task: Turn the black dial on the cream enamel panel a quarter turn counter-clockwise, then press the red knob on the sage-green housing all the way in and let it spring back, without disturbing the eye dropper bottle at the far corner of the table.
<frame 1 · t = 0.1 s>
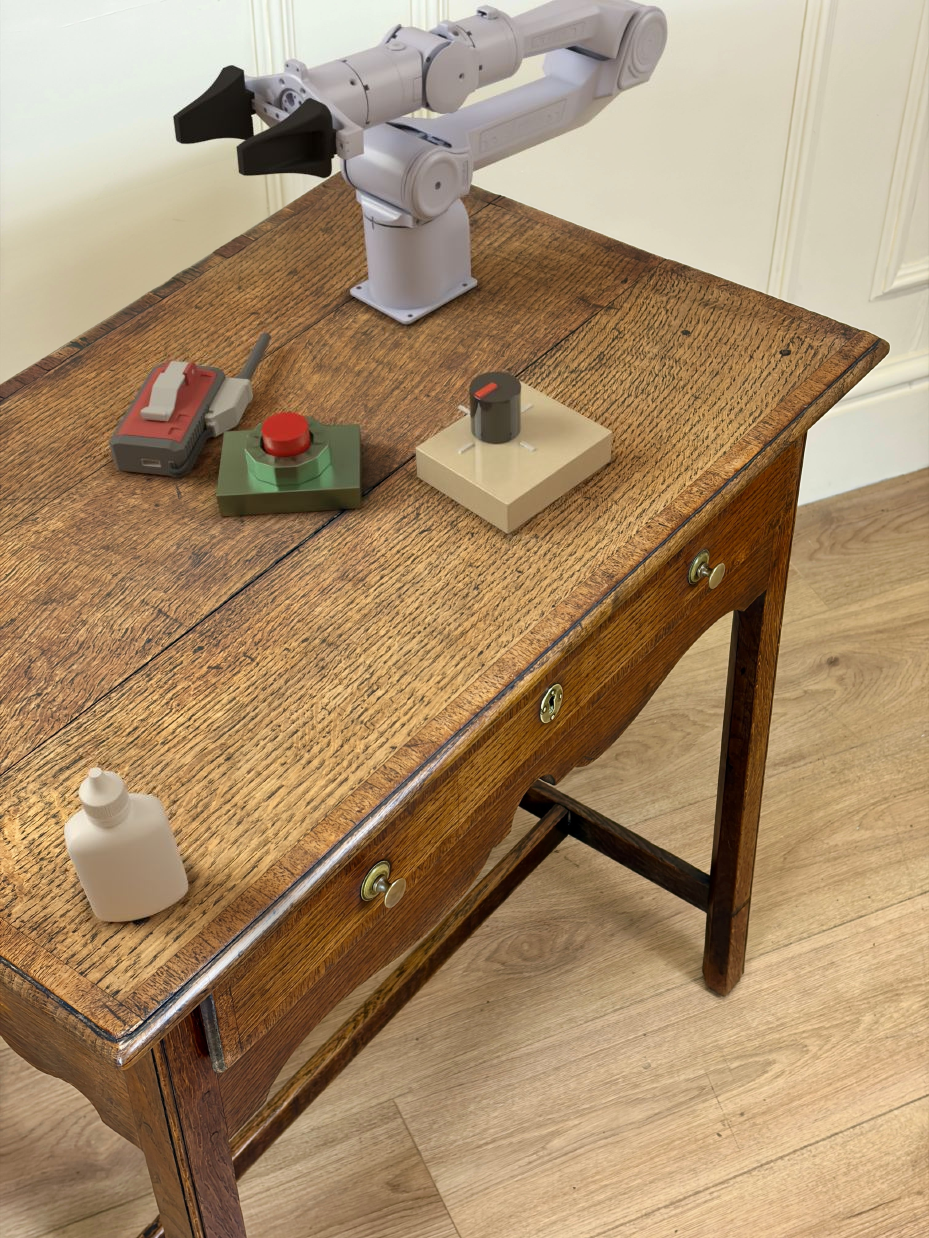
hand: (208, 145, 98), 22 cm above the table, tool horizontal, fingers open, 7 cm apart
dial: (495, 406, 101), point 5 cm above the table, hinge at 0.0°
walkie-talkie: (198, 413, 111), on the table
eye dropper bottle: (142, 896, 78), on the table
button: (286, 435, 101), point 4 cm above the table, slide at 0.1 cm
panel: (514, 469, 104), on the table
housing: (293, 480, 104), on the table
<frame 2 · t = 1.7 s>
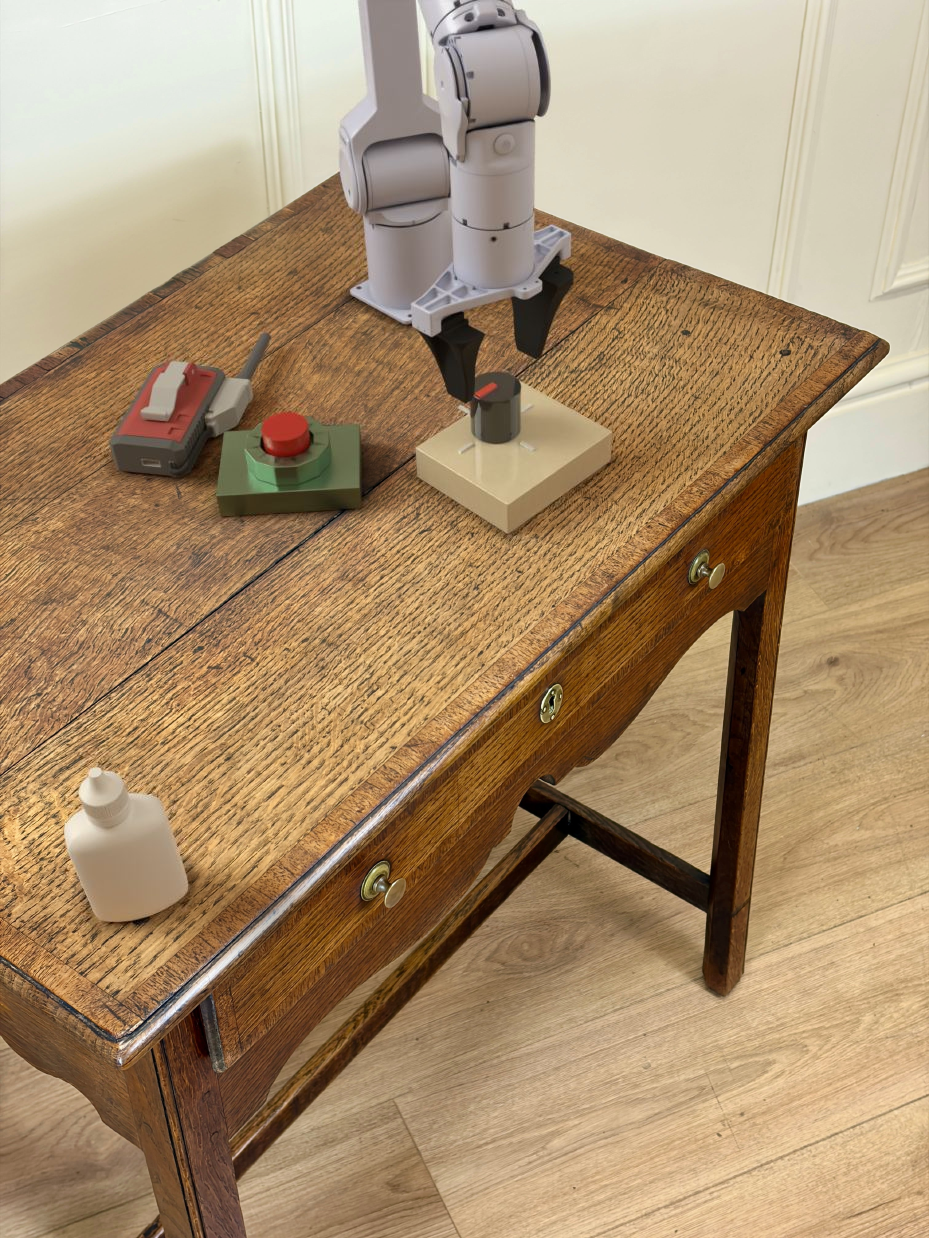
hand: (495, 374, 99), 8 cm above the table, tool pointing down, fingers open, 7 cm apart
nothing on the table moved.
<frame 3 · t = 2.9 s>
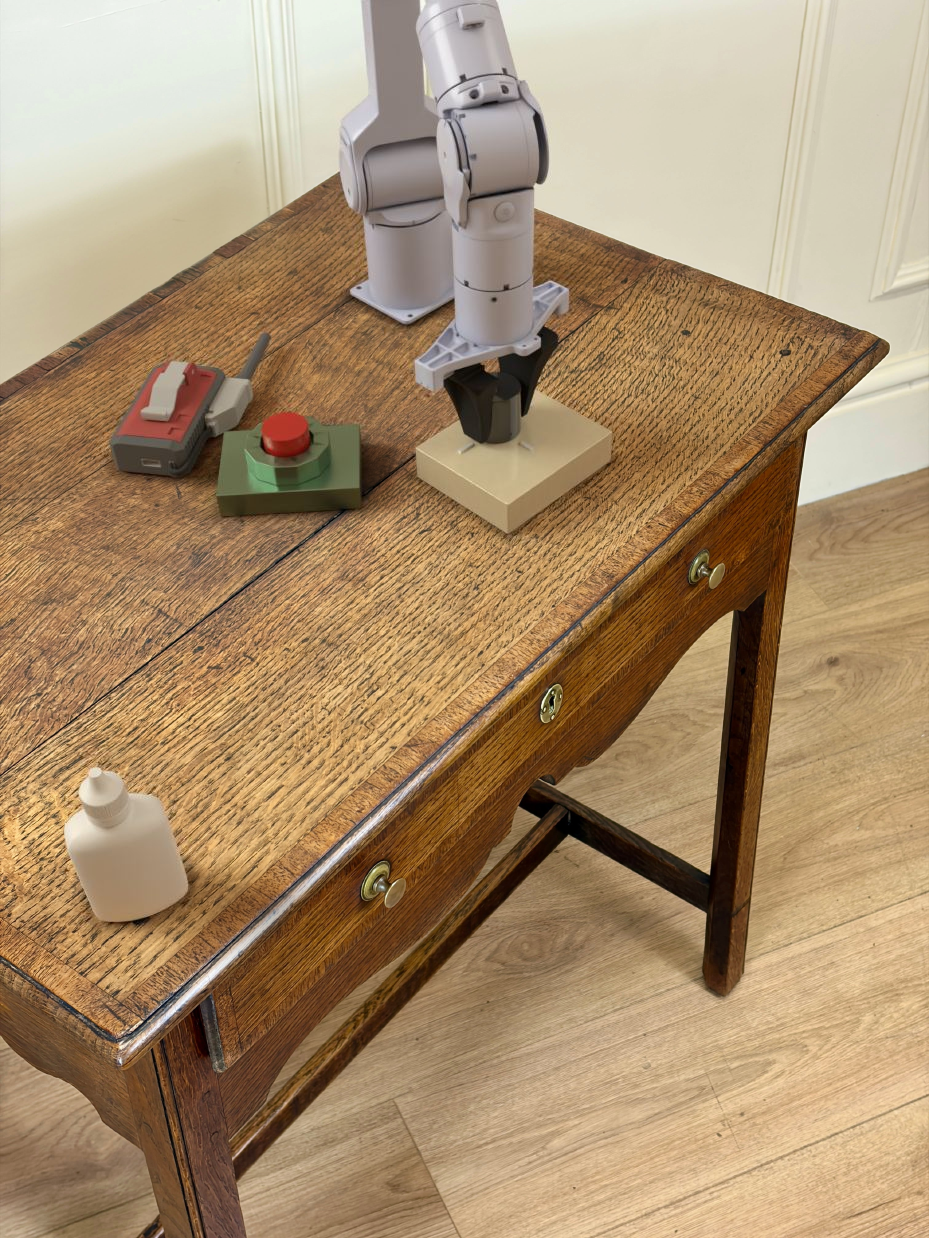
hand: (495, 423, 103), 4 cm above the table, tool pointing down, fingers closed on dial, 4 cm apart
dial: (495, 406, 101), point 5 cm above the table, hinge at 0.1°, touching gripper
everything else where it was.
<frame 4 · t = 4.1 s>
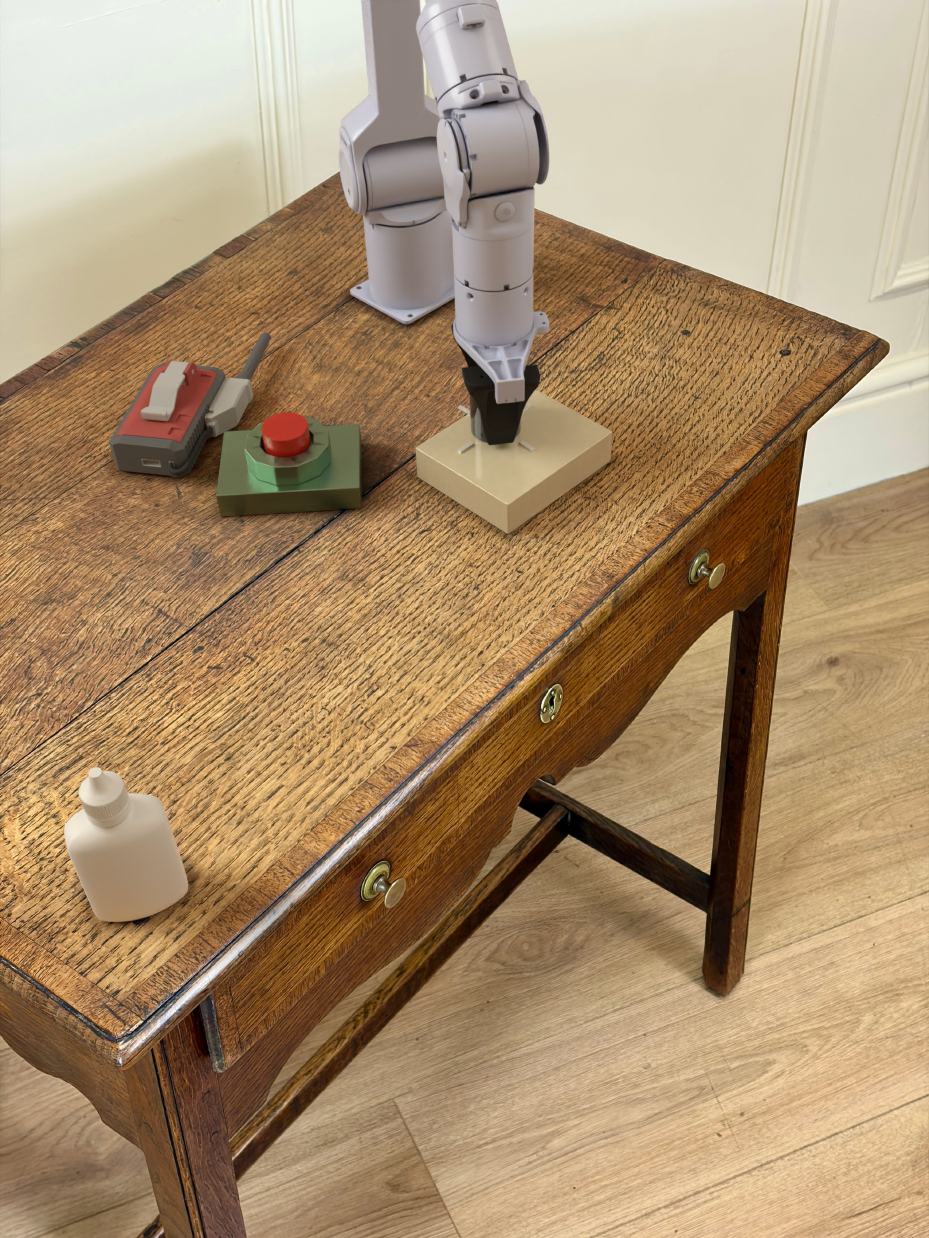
hand: (495, 423, 103), 4 cm above the table, tool pointing down, fingers closed on dial, 4 cm apart
dial: (495, 406, 101), point 5 cm above the table, hinge at 50.9°, touching gripper
everything else where it was.
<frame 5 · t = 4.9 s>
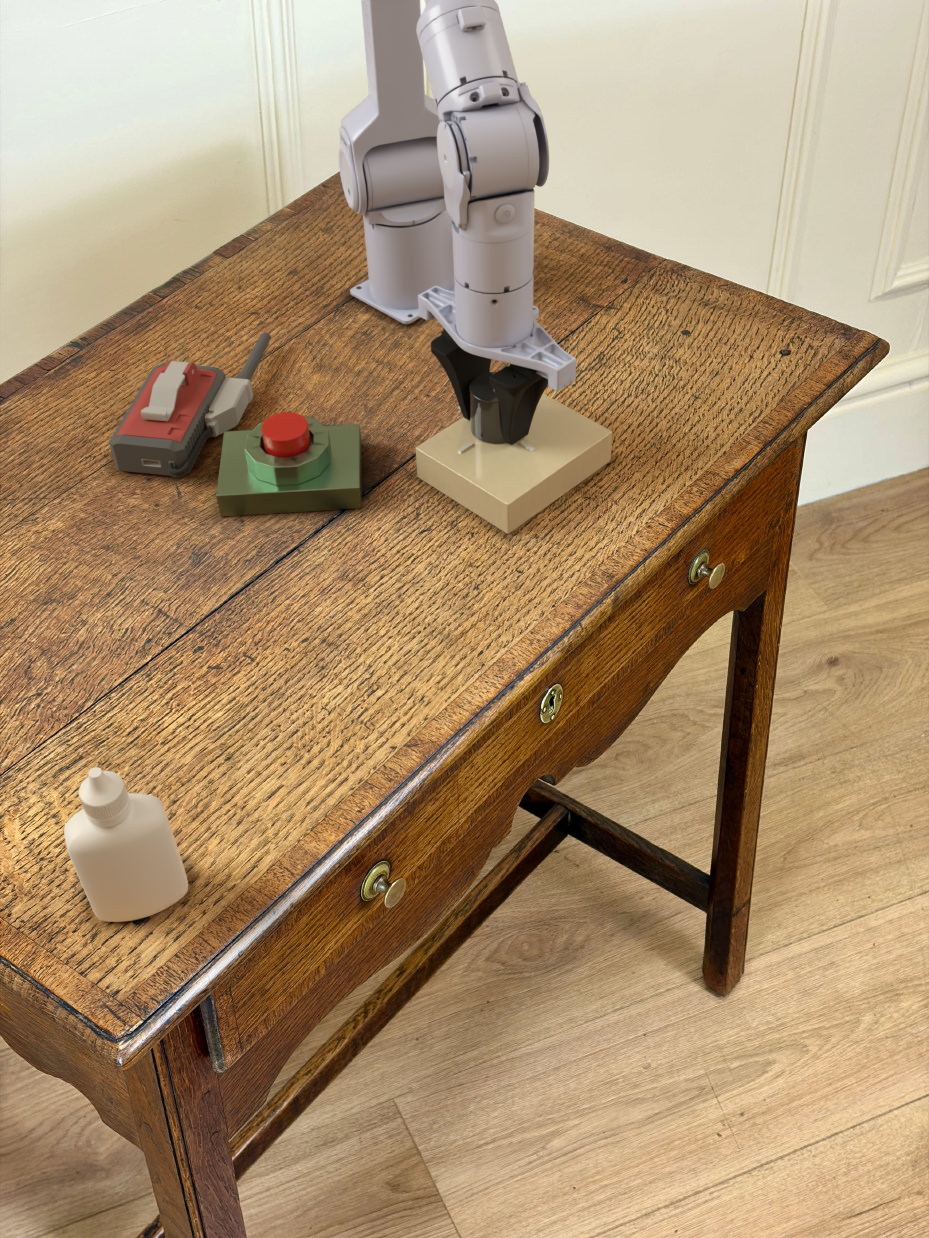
hand: (495, 425, 103), 3 cm above the table, tool pointing down, fingers closed on dial, 4 cm apart
dial: (495, 406, 101), point 5 cm above the table, hinge at 89.7°, touching gripper
everything else where it was.
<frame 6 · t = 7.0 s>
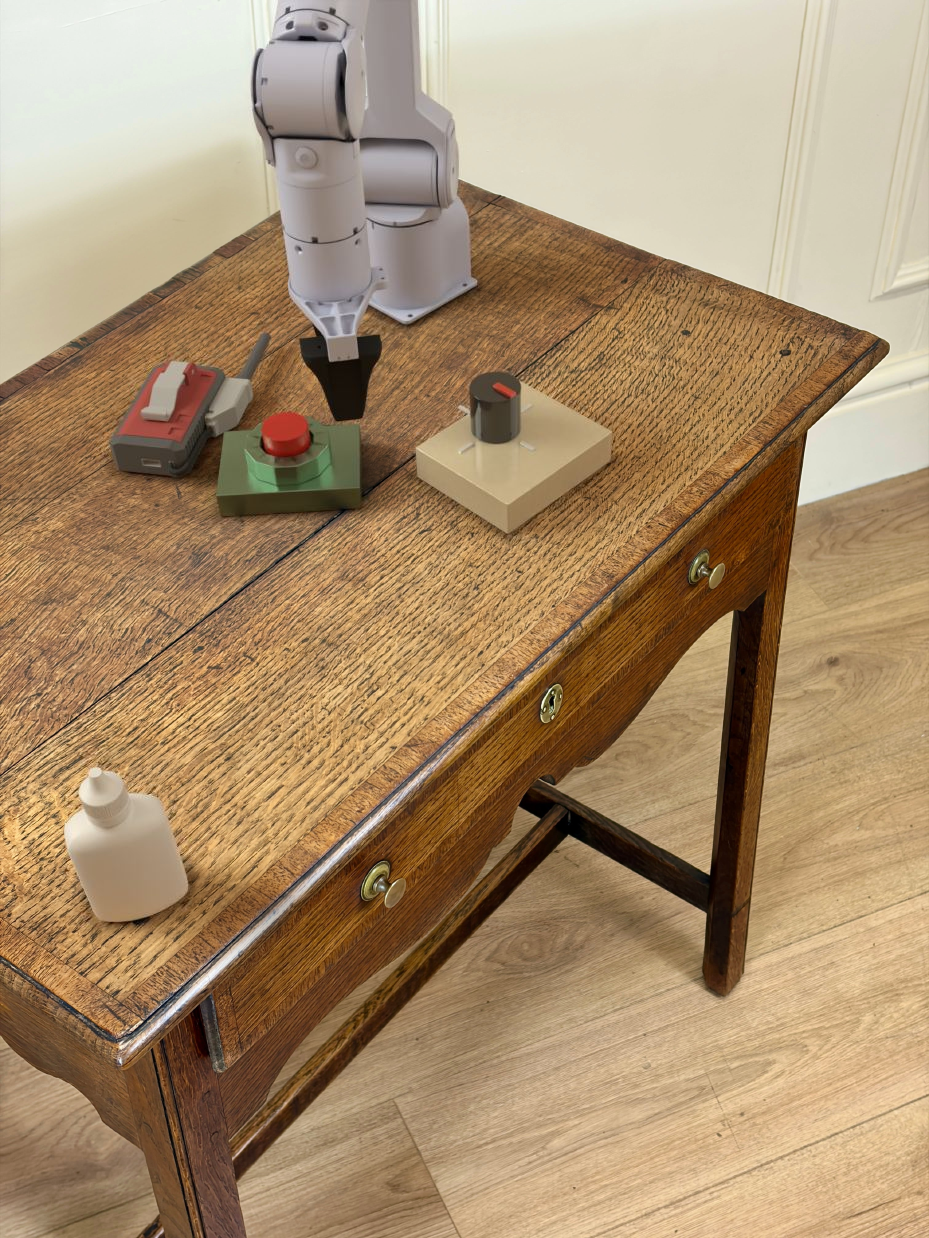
hand: (343, 387, 98), 8 cm above the table, tool pointing down, fingers open, 7 cm apart
dial: (495, 406, 101), point 5 cm above the table, hinge at 89.3°
everything else where it was.
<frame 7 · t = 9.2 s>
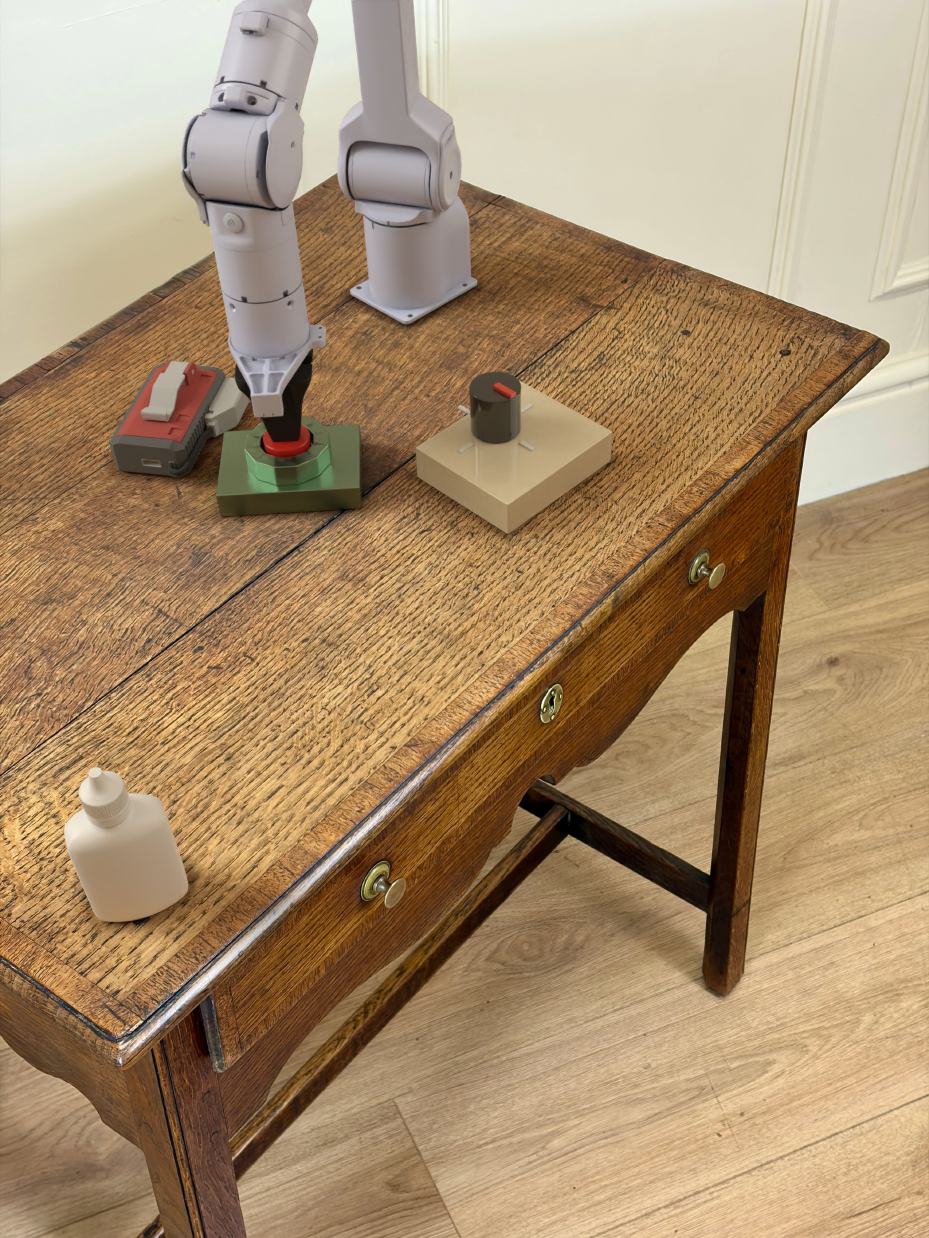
hand: (286, 436, 101), 4 cm above the table, tool pointing down, fingers closed, pressing on button
button: (287, 444, 101), point 4 cm above the table, slide at -0.8 cm, touching gripper
everything else where it was.
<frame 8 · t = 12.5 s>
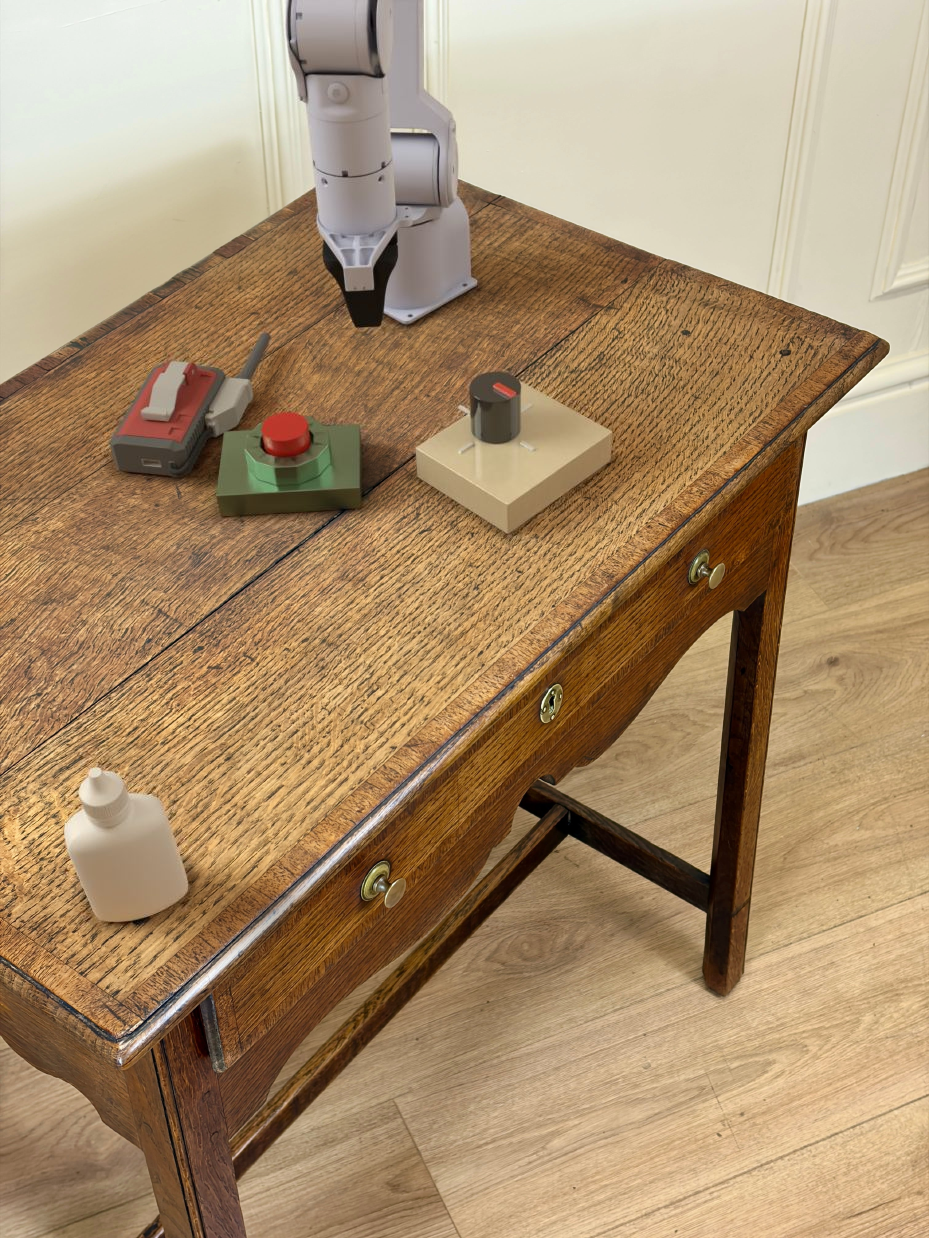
hand: (367, 322, 102), 9 cm above the table, tool pointing down, fingers closed
button: (286, 435, 101), point 4 cm above the table, slide at 0.1 cm
everything else where it was.
at the end: dial at +89° (first picture: +0°); button pushed in 1.2 cm at the most during the clip, back to where it started at the end; eye dropper bottle moved 0.2 cm from its start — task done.
